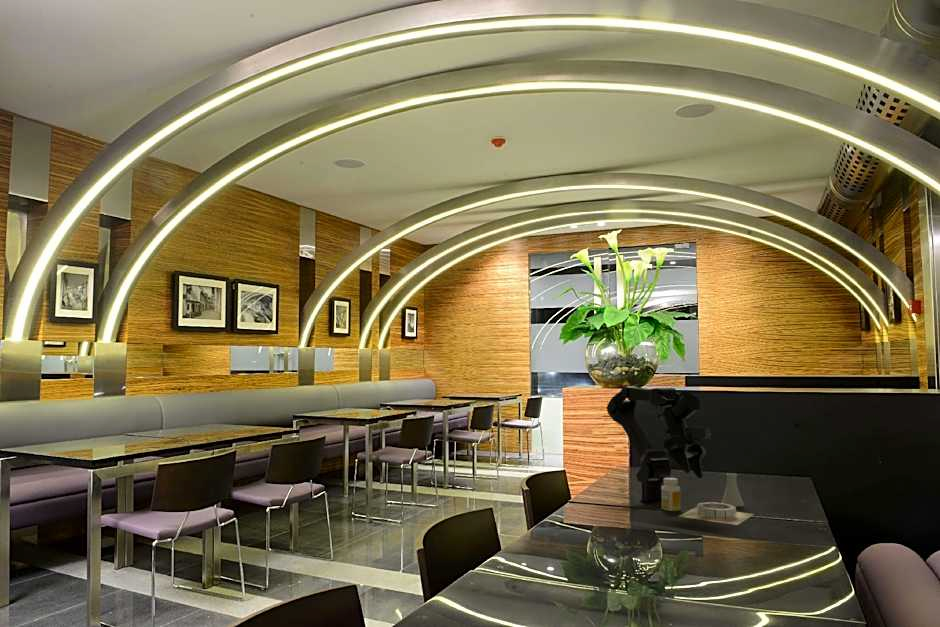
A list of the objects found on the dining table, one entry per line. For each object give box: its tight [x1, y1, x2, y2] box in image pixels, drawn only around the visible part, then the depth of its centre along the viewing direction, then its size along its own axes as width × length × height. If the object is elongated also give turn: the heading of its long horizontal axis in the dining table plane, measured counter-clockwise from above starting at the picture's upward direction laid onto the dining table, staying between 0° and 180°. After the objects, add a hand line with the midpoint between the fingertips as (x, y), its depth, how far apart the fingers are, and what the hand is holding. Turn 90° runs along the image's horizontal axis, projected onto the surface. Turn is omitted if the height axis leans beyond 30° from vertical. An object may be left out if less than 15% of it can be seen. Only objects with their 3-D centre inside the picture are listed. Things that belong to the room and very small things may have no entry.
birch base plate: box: [677, 506, 755, 526], centre depth 186 cm, size 16×16×1 cm
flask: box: [720, 472, 745, 508], centre depth 201 cm, size 7×7×10 cm
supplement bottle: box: [660, 477, 682, 512], centre depth 194 cm, size 5×5×10 cm
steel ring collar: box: [696, 501, 737, 519], centre depth 186 cm, size 10×10×2 cm
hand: (694, 475), depth 191 cm, fingers open, 9 cm apart
